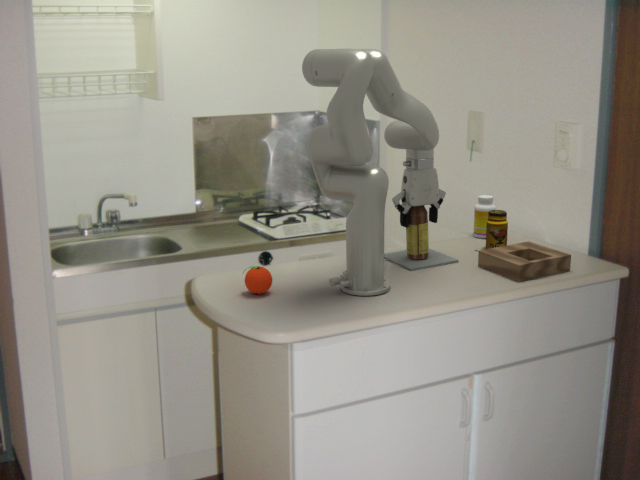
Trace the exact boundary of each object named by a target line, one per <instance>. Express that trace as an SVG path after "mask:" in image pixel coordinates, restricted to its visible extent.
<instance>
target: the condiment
mask: <svg viewBox="0 0 640 480" xmlns="http://www.w3.org/2000/svg"><path fill="white" fill-rule="evenodd" d="M488 214H489V215H488V220H487V225H486V239H485V246H483V247H480V248H476V249H475V251H478V252H479V250H485V249H490V248H496V247H501V246H506V245H508V230H509V226H508V223H509V222H508V220H507V219H508V218H507V217H508V216H507V215H508V212H507V211H506V210H502V209H496V210H491V211H489V212H488Z"/></svg>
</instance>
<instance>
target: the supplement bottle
mask: <svg viewBox="0 0 640 480" xmlns="http://www.w3.org/2000/svg"><path fill="white" fill-rule="evenodd" d="M477 201H478V202H477V203H476V204H475V205H474V209H473V212H474V213H473V236H474V237H475V238H477V237H478V238H479V239H484V238H486V225H487V220H488V215H489V214H488V212H489V211H491V210H497V206H496V205H495V204H494V203H493V201H494V196H493V195H490V194H489V195H488V194H481V195H478V196H477Z"/></svg>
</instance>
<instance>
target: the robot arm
mask: <svg viewBox="0 0 640 480" xmlns="http://www.w3.org/2000/svg"><path fill="white" fill-rule="evenodd" d="M301 69H302V70H301V71H302V75H303V78H304V80H305V81H306V82H307V84H309V85H310V86H313V87H319V88H322V87H323V88H337V90H336V91H335V93H334V95H333V96H332V98H331V100H329V103H328V105H327V108H326V120H327V123H328V124H320V125H318V126H316V127H314V128H313V129H312V130H311V132H310V134H309V135H308V139H307V153H308V154H307V155H308V158H309V162H310V164H311V167H312V169H313V174H314V177H315V179H316V182H317V185H318V188H319V191H320V192H321V193H322V195H323V197H325V198H327V199H330V200H333V201H334V200H335V201H341V202H343V201H344V202H349V203H353V207H352V208H351V210H350V211H349V213H348V214H347V217H346V221H345V244H346V245H345V246H346V247H345V254H346V255H345V257H346V261H345V262H346V265H345V266H346V269H345V270H343V271H342V275H341V274H340V276H335V277H331V278H329V279H328V283H329V286H331V287H333V286H339V287H340V290H341V292H343V293H345V294H348V295H352V296H361V297H369V296H370V297H371V296H378V295H382V294H385V293H387V292H389V291H390V290H391V282H390V281H389V280H388V279H385V259H384V254H385V213H386V212H385V210H386V203H387V202H386V201H387V196H388V191H389V176H388V172H386V171H385V170H384V168H382V167H381V166H378V165H375V164H370V161H372V158H373V153H374V148H373V143H372V139H371V134H370V131H369V127H368V123H367V120H366V116H365V113H364V102H365V98H366V96H367V100H369V103H370V104H371V106H372V107H373V109H374V110H375V111H376V112H378V113H379V114H382V115H383V116H386V117H389V118H391V119H394V121H391V122H390V123H389V124H387V126H386V127H385V130H384V141H385V143H386V144H387V145H388V146H389V147H391V148H393V149H396V150H397V149H398V150H405V161H402V165H403V167H405V168H404V170H403V175H402V178H401V179H402V180H401V189H400V190H401V191H400V192H399V193H397V194H396V195H395V196H393V197H392V198H391V201H392V203H393V205H394V208H395V209H396V210H397V211H398V212H399V223H400V226H401V227H403V228H405V229H406V228H407V227H409V214H408V213H407V212H408V210H409V209H410V207H411V206H412V207H416V206H423V205H424V206H428V205H429V208H428V222H430V223H434V224H437V223H438V219H439V215H438V214H439V210H440V208H441V205H442V204H443V202H444V199H445V197H446V195H447V194H446V192H447V191H444V190H442V189H441V188H439V178H438V177H439V175H438V171H437V168H436V167H435V166H434V164H435V163H434V161H435V160H434V158H435V157H434V156H435V155H434V154H435V151H434V150H435V148H436V147H437V145H438V144H439V140H440V131H439V130H440V129H439V127H438V124H437V122H436V121H437V120H436V119H435V117H434V115H433V112H432V111H431V110H430V108H429V107H428V106H427V105H426V104H424V103H423V102H421V100H419V99H417V98H416V97H415V96H413V95H412V94H411V93H409V92H407V91H405V90H404V88H402V85H401V84H400V83H401V82H400V81H399V79H398V77H397V75H396V74H395V71H394V69H393V67H392V65H391V63H390V60H389V59H388V57H387V56H386V54H385V53H384V52H382V51H381V50H378V49H375V48H319V49H318V48H317V49H315V48H314V49H312V50H310V51H309V52H307V54H306V55H305V56H304V58H303V59H302V65H301ZM400 202H401V203H400Z"/></svg>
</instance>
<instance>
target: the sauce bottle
mask: <svg viewBox="0 0 640 480" xmlns="http://www.w3.org/2000/svg"><path fill="white" fill-rule="evenodd" d="M425 206H426V205H423V206H416V207H412V206H411V207H410V209H409V210H408V212H407V213H408V214H409V227H407V228H406V227H405V232H406V235H405V238H406V239H405V240H406V250H407V256H408V258H410V259H413V260H423V259H426V258H428V255H429V254H428V252H429V249H430V244H429V243H430V242H429V241H430V240H429V237H430V236H429V211H428V210H427V209H426V207H425Z"/></svg>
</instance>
